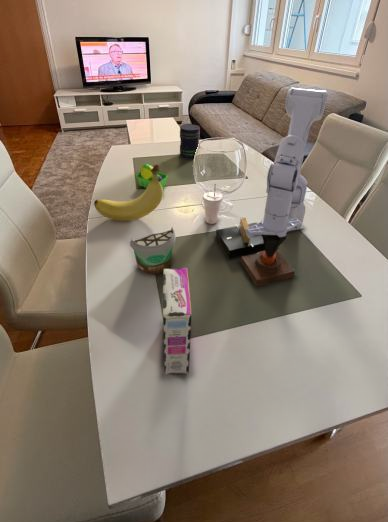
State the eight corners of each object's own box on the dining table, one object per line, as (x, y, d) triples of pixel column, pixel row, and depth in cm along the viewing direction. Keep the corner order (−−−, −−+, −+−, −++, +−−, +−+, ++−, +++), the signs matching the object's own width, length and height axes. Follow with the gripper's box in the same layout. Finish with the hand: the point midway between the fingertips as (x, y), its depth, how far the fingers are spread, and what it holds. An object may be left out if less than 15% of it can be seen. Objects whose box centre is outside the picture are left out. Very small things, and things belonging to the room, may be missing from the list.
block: (275, 255, 86) (277, 244, 84) (293, 277, 79) (296, 265, 77) (240, 262, 83) (242, 251, 81) (256, 286, 75) (258, 275, 74)
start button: (270, 254, 81) (271, 249, 80) (277, 262, 78) (278, 257, 77) (258, 256, 80) (259, 251, 79) (265, 265, 77) (266, 260, 76)
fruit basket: (169, 186, 121) (168, 161, 116) (155, 195, 115) (154, 169, 110) (147, 179, 127) (146, 154, 121) (133, 187, 120) (131, 161, 115)
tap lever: (239, 228, 92) (240, 216, 90) (244, 228, 92) (245, 216, 90) (243, 242, 86) (245, 230, 84) (249, 242, 86) (251, 230, 84)
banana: (94, 223, 98) (85, 168, 89) (98, 213, 103) (90, 160, 94) (163, 223, 99) (161, 168, 89) (164, 213, 104) (162, 160, 95)
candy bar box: (190, 374, 56) (192, 315, 48) (164, 376, 56) (161, 316, 48) (187, 322, 66) (187, 266, 58) (164, 323, 66) (162, 267, 58)
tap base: (254, 228, 97) (256, 220, 96) (273, 250, 88) (274, 242, 86) (215, 236, 93) (215, 228, 92) (229, 260, 84) (230, 251, 82)
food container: (139, 284, 75) (136, 253, 71) (132, 268, 80) (129, 238, 75) (183, 268, 81) (183, 239, 76) (174, 254, 85) (173, 226, 81)
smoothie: (219, 227, 97) (222, 190, 91) (200, 224, 99) (201, 187, 92) (221, 216, 103) (224, 180, 96) (203, 214, 104) (205, 178, 98)
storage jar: (177, 158, 148) (177, 129, 141) (181, 151, 156) (181, 123, 149) (197, 160, 146) (198, 130, 139) (200, 152, 155) (201, 124, 148)
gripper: (258, 224, 66) (251, 270, 73) (313, 214, 70) (302, 258, 77) (244, 208, 72) (239, 251, 79) (295, 199, 76) (286, 241, 83)
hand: (269, 253), depth 78 cm, fingers closed
